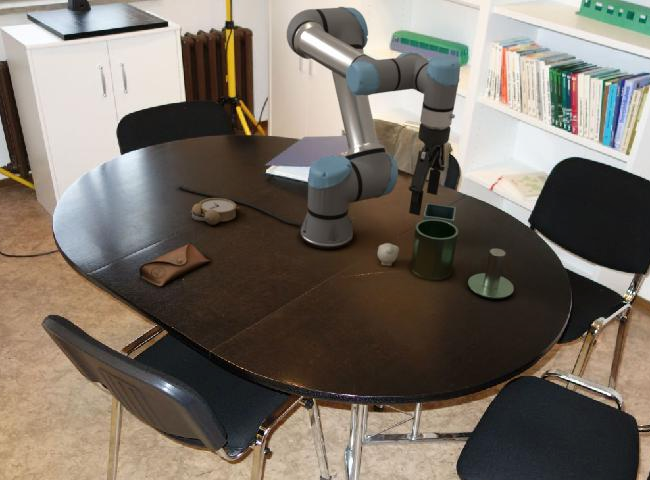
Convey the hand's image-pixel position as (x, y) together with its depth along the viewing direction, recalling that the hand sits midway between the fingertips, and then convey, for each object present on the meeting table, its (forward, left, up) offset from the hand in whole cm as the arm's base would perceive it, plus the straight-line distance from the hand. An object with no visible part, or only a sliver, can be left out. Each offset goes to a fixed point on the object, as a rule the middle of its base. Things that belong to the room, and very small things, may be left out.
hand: (423, 203), depth 179 cm
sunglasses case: (-55, -34, -20) cm, 68 cm away
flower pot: (-1, +20, -20) cm, 28 cm away
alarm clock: (-64, -4, -20) cm, 67 cm away
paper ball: (-8, -1, -17) cm, 19 cm away
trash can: (+4, +2, -20) cm, 20 cm away
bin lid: (+21, +1, -19) cm, 29 cm away
